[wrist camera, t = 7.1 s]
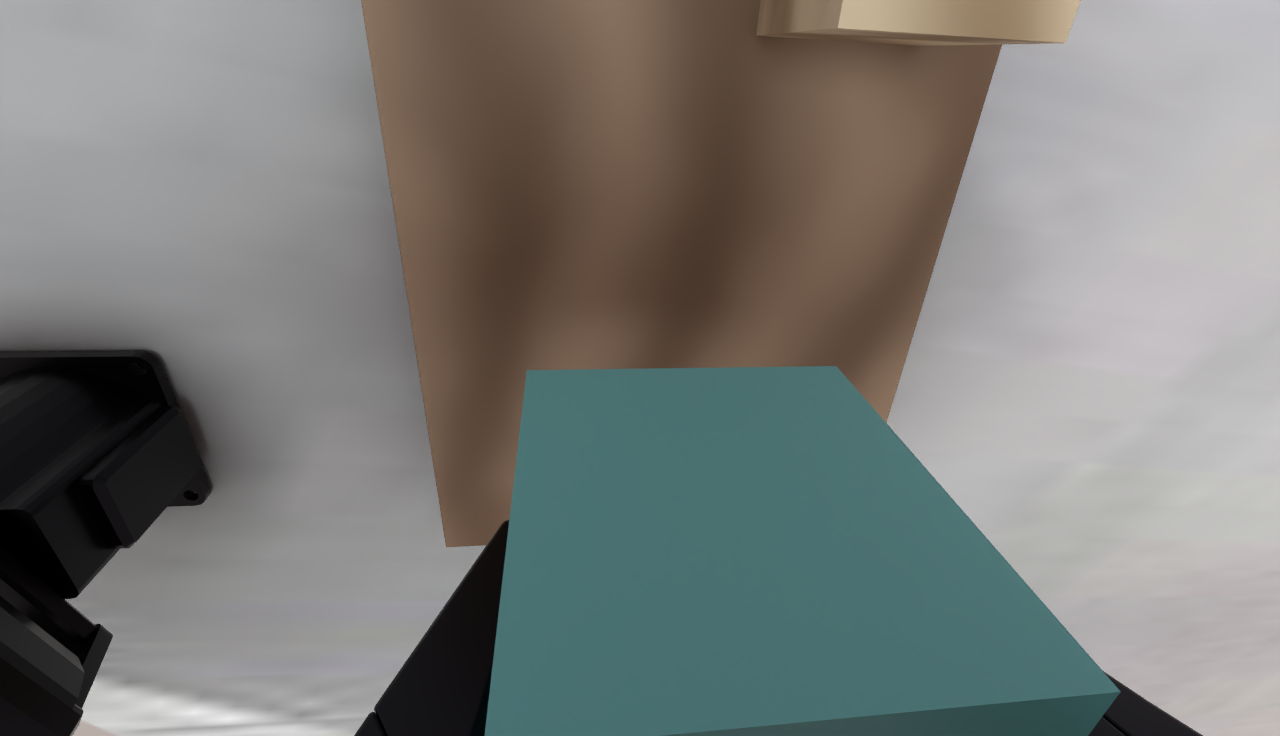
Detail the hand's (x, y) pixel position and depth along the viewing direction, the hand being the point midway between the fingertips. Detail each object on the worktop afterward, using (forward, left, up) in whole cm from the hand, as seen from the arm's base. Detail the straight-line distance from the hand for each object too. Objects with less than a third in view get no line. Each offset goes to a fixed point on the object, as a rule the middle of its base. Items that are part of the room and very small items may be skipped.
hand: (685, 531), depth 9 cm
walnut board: (+2, +1, -12) cm, 13 cm away
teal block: (0, 0, -1) cm, 1 cm away
